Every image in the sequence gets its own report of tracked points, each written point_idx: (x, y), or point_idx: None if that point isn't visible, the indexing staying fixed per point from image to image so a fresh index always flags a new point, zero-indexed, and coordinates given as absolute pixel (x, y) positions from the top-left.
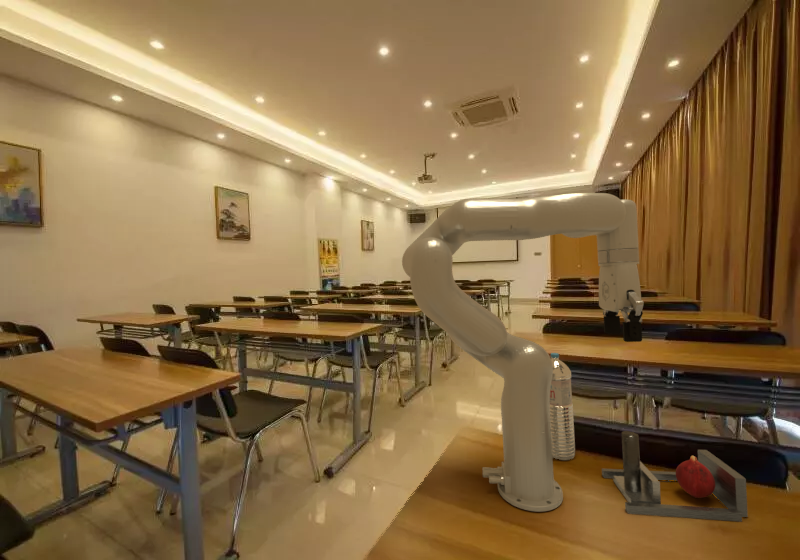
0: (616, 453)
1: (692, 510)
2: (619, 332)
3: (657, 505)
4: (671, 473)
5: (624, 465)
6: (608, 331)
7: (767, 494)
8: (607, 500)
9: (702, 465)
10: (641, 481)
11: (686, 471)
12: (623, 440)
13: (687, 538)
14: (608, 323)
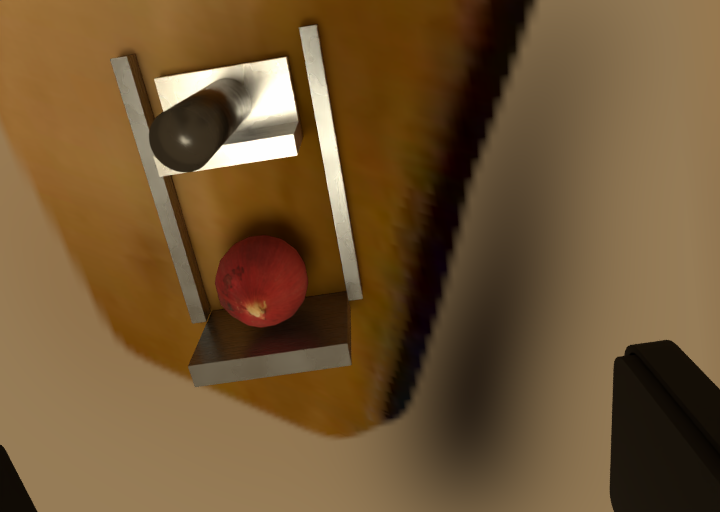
0: (489, 112)
1: (162, 224)
2: (612, 501)
3: (147, 145)
4: (342, 237)
5: (200, 90)
6: (623, 394)
7: (336, 406)
8: (166, 9)
9: (247, 319)
10: (237, 134)
11: (233, 268)
12: (173, 106)
13: (76, 176)
14: (702, 508)
